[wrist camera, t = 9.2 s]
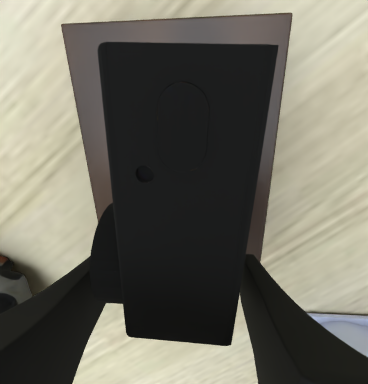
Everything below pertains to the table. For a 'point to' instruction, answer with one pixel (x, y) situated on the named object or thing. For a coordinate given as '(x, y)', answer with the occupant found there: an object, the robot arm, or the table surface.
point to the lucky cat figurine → (12, 286)
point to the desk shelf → (172, 33)
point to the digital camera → (180, 183)
